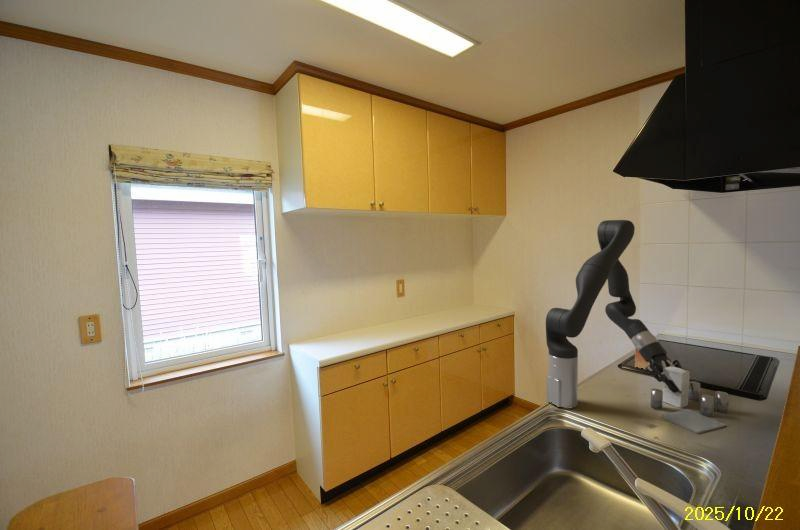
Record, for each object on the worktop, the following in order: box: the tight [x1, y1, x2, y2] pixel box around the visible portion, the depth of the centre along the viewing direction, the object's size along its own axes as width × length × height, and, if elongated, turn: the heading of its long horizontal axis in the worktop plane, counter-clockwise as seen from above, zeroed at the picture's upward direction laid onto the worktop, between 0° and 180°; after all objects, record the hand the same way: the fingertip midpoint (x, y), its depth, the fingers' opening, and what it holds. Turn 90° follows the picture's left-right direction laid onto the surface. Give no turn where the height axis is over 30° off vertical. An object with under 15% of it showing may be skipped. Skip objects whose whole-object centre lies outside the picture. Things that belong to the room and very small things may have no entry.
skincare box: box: [662, 366, 691, 408], centre depth 125 cm, size 6×4×12 cm
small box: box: [634, 347, 650, 370], centre depth 160 cm, size 8×6×10 cm
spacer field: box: [650, 380, 730, 418], centre depth 121 cm, size 21×12×6 cm, turn 108°
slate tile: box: [659, 408, 727, 434], centre depth 113 cm, size 12×11×1 cm
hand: (681, 390), depth 123 cm, fingers closed on skincare box, 4 cm apart
